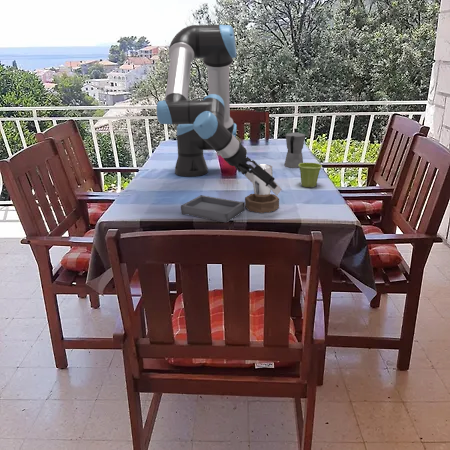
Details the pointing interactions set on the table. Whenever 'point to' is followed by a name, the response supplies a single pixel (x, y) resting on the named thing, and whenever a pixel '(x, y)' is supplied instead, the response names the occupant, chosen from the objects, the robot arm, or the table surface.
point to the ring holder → (261, 204)
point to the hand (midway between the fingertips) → (268, 187)
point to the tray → (213, 208)
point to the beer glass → (262, 186)
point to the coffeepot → (294, 149)
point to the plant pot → (309, 174)
